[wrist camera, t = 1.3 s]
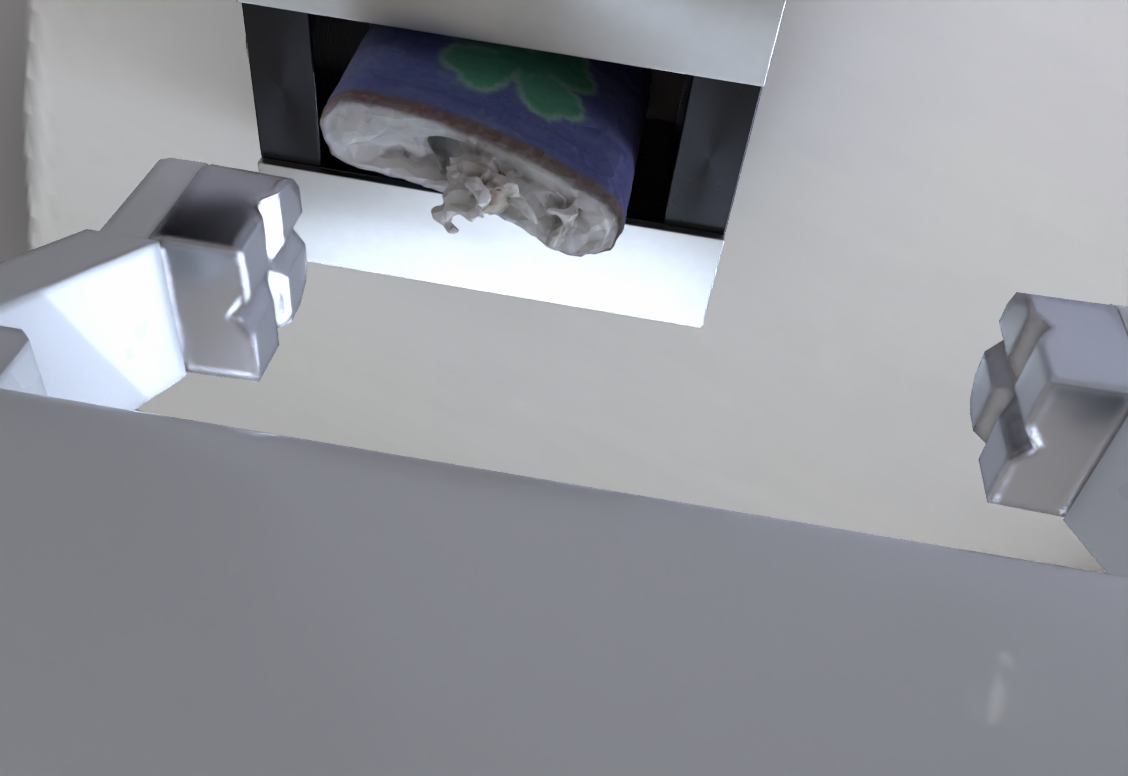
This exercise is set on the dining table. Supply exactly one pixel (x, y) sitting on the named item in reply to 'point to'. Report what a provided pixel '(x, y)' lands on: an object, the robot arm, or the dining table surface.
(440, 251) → the glossy black box
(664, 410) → the dining table surface
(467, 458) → the dining table surface
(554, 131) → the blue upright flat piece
